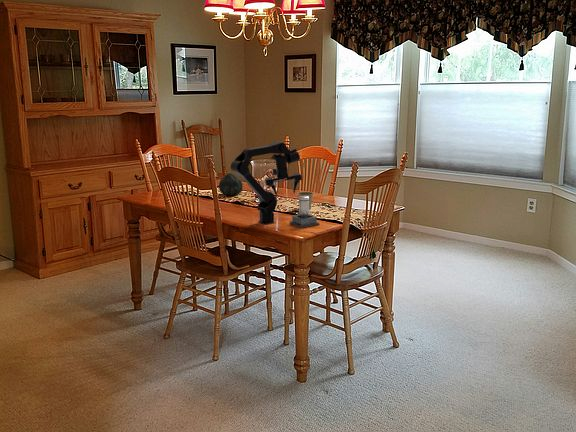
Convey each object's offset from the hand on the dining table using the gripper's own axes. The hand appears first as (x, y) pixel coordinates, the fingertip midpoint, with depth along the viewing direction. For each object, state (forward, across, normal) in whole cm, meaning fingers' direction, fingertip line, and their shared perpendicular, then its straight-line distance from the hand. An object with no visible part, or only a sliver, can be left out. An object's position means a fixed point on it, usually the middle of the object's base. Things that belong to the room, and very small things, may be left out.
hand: (285, 194), depth 305 cm
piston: (+12, -6, +14) cm, 19 cm away
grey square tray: (+13, -6, +14) cm, 20 cm away
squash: (+16, +27, -70) cm, 76 cm away
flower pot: (+17, -13, -22) cm, 30 cm away
